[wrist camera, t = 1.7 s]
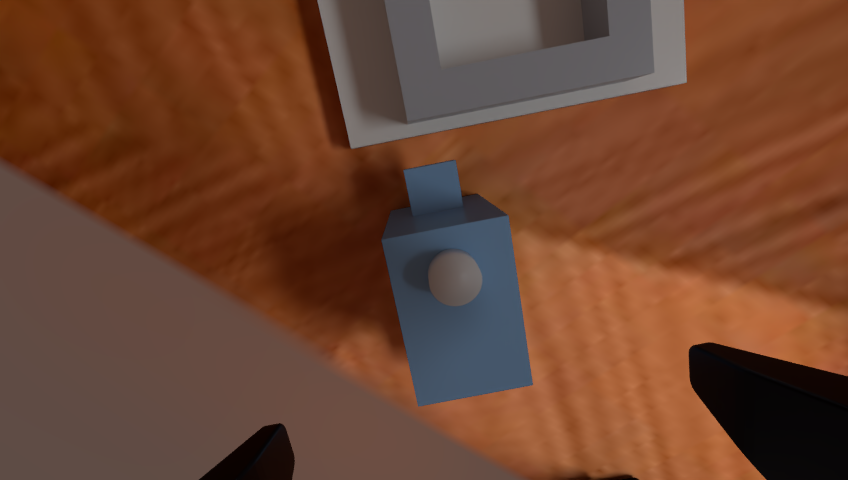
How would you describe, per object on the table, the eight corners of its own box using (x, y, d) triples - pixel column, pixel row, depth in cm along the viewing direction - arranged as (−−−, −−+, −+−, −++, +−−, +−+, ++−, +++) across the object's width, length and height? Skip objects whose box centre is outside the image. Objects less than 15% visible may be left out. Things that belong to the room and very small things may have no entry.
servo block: (501, 347, 20) (546, 445, 13) (423, 362, 20) (428, 467, 13) (470, 153, 18) (506, 157, 11) (382, 171, 18) (365, 185, 11)
